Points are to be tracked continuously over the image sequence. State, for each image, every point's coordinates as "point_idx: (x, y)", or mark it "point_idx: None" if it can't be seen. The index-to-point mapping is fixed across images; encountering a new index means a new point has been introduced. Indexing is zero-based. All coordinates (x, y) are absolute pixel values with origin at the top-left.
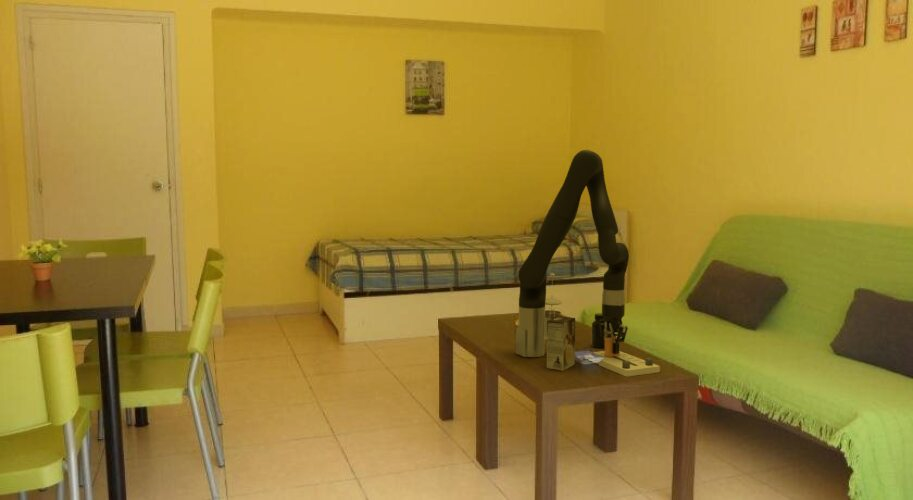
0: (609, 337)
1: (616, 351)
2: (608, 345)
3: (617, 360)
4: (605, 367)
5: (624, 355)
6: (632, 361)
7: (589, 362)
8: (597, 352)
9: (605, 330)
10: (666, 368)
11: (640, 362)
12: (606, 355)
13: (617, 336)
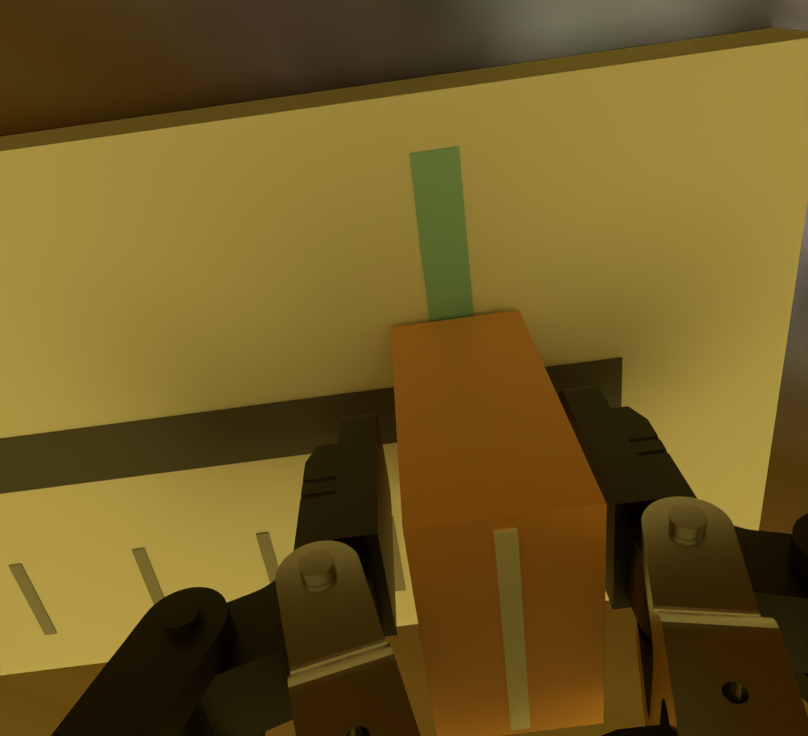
0: (598, 606)
1: (310, 472)
2: (422, 432)
3: (188, 368)
4: (143, 117)
5: None
6: (102, 525)
7: (547, 10)
8: (752, 294)
9: (716, 694)
10: (53, 728)
11: (33, 586)
12: (463, 322)
13: (143, 726)
